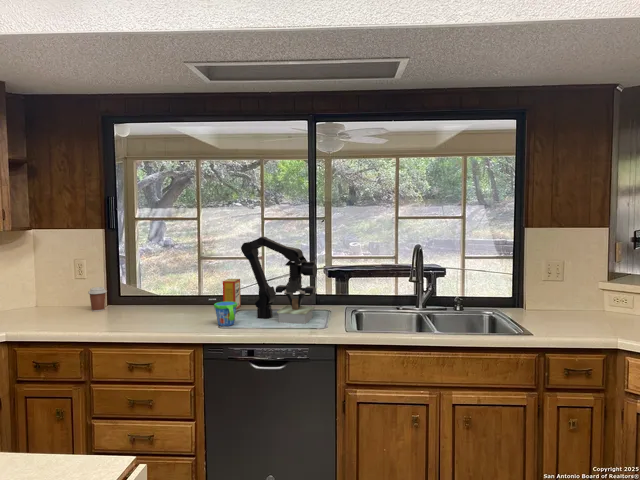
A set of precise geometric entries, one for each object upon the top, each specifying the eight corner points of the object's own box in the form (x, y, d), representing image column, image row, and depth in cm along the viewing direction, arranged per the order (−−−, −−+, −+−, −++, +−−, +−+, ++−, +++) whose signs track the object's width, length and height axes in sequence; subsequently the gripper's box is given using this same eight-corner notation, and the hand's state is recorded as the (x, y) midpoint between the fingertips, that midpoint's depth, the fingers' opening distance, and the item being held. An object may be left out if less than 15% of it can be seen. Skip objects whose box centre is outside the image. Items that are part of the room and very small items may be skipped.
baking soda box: (234, 310, 251) (234, 280, 250) (223, 309, 252) (222, 280, 251) (240, 306, 260) (240, 278, 259) (229, 306, 261) (228, 277, 260)
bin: (278, 323, 221) (278, 313, 221) (287, 317, 234) (287, 307, 234) (305, 325, 218) (304, 314, 218) (312, 318, 231) (312, 308, 230)
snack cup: (211, 322, 225) (210, 301, 224) (232, 319, 229) (232, 299, 229) (219, 329, 211) (218, 307, 210) (241, 327, 215) (241, 305, 215)
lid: (276, 313, 221) (276, 300, 221) (286, 306, 235) (286, 295, 235) (305, 314, 217) (305, 302, 217) (314, 308, 231) (314, 296, 231)
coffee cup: (95, 308, 258) (94, 286, 258) (110, 308, 257) (110, 287, 256) (85, 311, 249) (84, 289, 249) (100, 312, 248) (100, 289, 247)
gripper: (271, 276, 219) (271, 309, 220) (309, 278, 214) (309, 311, 215) (279, 273, 230) (279, 305, 231) (315, 274, 225) (316, 306, 226)
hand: (295, 307), depth 226 cm, fingers closed on lid, 3 cm apart
